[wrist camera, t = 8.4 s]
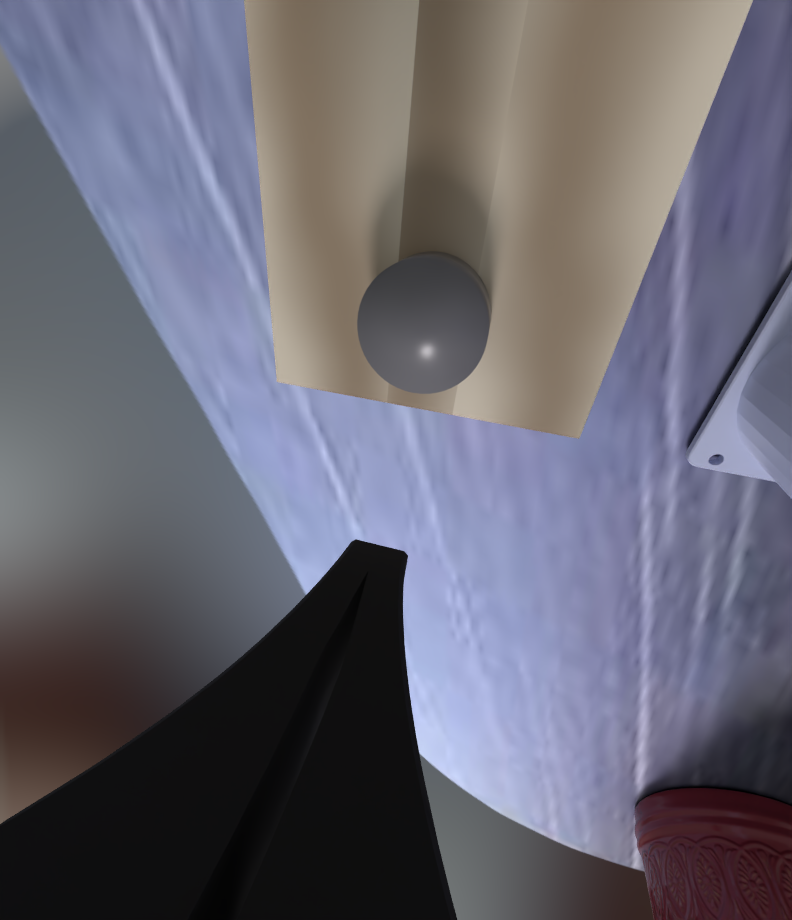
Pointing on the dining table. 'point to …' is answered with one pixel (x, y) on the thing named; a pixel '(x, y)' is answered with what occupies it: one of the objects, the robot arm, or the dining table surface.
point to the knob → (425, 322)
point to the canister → (716, 854)
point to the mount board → (476, 176)
